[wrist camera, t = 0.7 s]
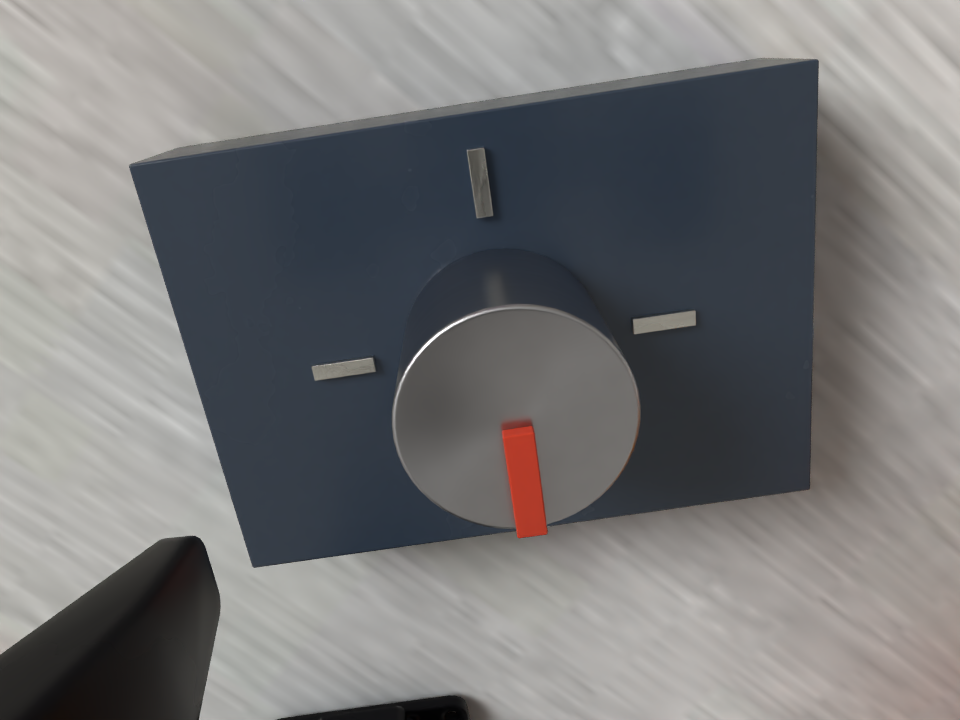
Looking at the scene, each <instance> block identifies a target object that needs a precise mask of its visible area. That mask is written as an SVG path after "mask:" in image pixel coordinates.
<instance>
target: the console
mask: <svg viewBox="0 0 960 720" xmlns="http://www.w3.org/2000/svg"><path fill="white" fill-rule="evenodd" d="M818 69H819V61H818V60H817V59H782V58H759V59H753V60H746V61H740V62H733V63H727V64H720V65H714V66H707V67H700V68H694V69H687V70H681V71H674V72H668V73H661V74H655V75H648V76H642V77H635V78H629V79H622V80H616V81H609V82H603V83H596V84H590V85H583V86H577V87H570V88H564V89H557V90H551V91H544V92H538V93H531V94H525V95H518V96H512V97H505V98H498V99H492V100H485V101H479V102H472V103H466V104H459V105H453V106H446V107H440V108H433V109H427V110H420V111H414V112H407V113H401V114H394V115H388V116H381V117H375V118H368V119H362V120H355V121H349V122H342V123H336V124H329V125H323V126H316V127H310V128H303V129H296V130H290V131H283V132H277V133H270V134H264V135H257V136H251V137H244V138H238V139H231V140H225V141H218V142H212V143H205V144H199V145H192V146H186V147H179V148H176V149H173V150H170V151H167V152H164V153H161V154H159V155H156V156H153V157H150V158H147V159H144V160H141V161H138V162H135V163H133V164H130V165H129V168H130V171H131V174H132V178H133V181H134V184H135V187H136V191H137V194H138V197H139V200H140V204H141V207H142V210H143V213H144V217H145V220H146V223H147V226H148V229H149V233H150V236H151V239H152V242H153V246H154V249H155V252H156V255H157V259H158V262H159V265H160V268H161V272H162V275H163V278H164V281H165V285H166V288H167V291H168V294H169V297H170V301H171V304H172V307H173V310H174V314H175V317H176V320H177V323H178V327H179V330H180V333H181V336H182V340H183V343H184V346H185V349H186V353H187V356H188V359H189V362H190V365H191V369H192V372H193V375H194V378H195V382H196V385H197V388H198V391H199V395H200V398H201V401H202V404H203V408H204V411H205V414H206V417H207V421H208V424H209V427H210V430H211V433H212V437H213V440H214V443H215V446H216V450H217V453H218V456H219V459H220V463H221V466H222V469H223V472H224V476H225V479H226V482H227V485H228V489H229V492H230V495H231V498H232V502H233V505H234V508H235V511H236V514H237V518H238V521H239V524H240V527H241V531H242V534H243V537H244V540H245V544H246V547H247V550H248V553H249V557H250V560H251V563H252V566H253V567H254V568H255V567H262V566H269V565H277V564H284V563H291V562H298V561H305V560H312V559H319V558H326V557H333V556H340V555H348V554H355V553H362V552H369V551H376V550H383V549H390V548H397V547H404V546H412V545H419V544H426V543H433V542H440V541H447V540H454V539H461V538H468V537H476V536H483V535H490V534H497V533H504V532H511V531H516V529H500V528H493V527H486V526H482V525H478V524H474V523H471V522H468V521H466V520H463V519H460V518H458V517H456V516H454V515H452V514H450V513H448V512H446V511H445V510H443V509H442V508H440V507H439V506H437V505H436V504H435V503H433V502H432V501H431V500H430V499H429V498H427V497H426V496H425V495H424V494H423V493H422V492H421V491H420V490H419V489H418V487H417V486H416V485H415V484H414V483H413V481H412V480H411V479H410V477H409V476H408V474H407V472H406V471H405V469H404V468H403V466H402V463H401V461H400V459H399V457H398V454H397V451H396V447H395V444H394V440H393V433H392V426H391V425H392V406H393V400H394V393H395V388H396V382H397V376H398V370H399V364H400V358H401V352H402V346H403V341H404V335H405V329H406V323H407V320H408V317H409V314H410V311H411V309H412V307H413V304H414V302H415V300H416V299H417V297H418V296H419V294H420V292H421V291H422V289H423V288H424V287H425V286H426V285H427V284H428V282H429V281H430V280H431V279H432V278H433V277H434V276H435V275H437V274H438V273H439V272H440V271H441V270H443V269H444V268H446V267H447V266H449V265H450V264H451V263H453V262H455V261H457V260H459V259H461V258H463V257H466V256H469V255H471V254H474V253H478V252H482V251H487V250H494V249H517V250H523V251H529V252H533V253H536V254H539V255H542V256H544V257H547V258H549V259H551V260H553V261H555V262H557V263H558V264H560V265H561V266H563V267H564V268H566V269H567V270H568V271H569V272H570V273H572V274H573V275H574V276H575V277H576V278H577V279H578V280H579V281H580V283H581V284H582V285H583V286H584V287H585V289H586V290H587V292H588V293H589V295H590V296H591V298H592V300H593V302H594V303H595V305H596V307H597V309H598V311H599V312H600V314H601V316H602V318H603V319H604V321H605V323H606V325H607V326H608V328H609V330H610V332H611V334H612V335H613V337H614V339H615V341H616V342H617V344H618V346H619V348H620V349H621V351H622V353H623V355H624V356H625V358H626V360H627V362H628V364H629V366H630V368H631V370H632V372H633V374H634V377H635V380H636V384H637V387H638V390H639V397H640V404H641V420H640V427H639V434H638V437H637V441H636V444H635V447H634V450H633V452H632V454H631V457H630V459H629V461H628V463H627V465H626V466H625V468H624V470H623V471H622V473H621V475H620V476H619V477H618V478H617V480H616V481H615V482H614V483H613V485H612V486H611V487H610V488H609V489H608V490H607V491H606V492H605V493H604V494H603V495H602V496H601V497H600V498H598V499H597V500H596V501H594V502H593V503H592V504H590V505H589V506H588V507H586V508H584V509H582V510H581V511H579V512H577V513H576V514H574V515H571V516H569V517H567V518H565V519H562V520H560V521H557V522H554V523H550V524H547V526H554V525H561V524H568V523H575V522H582V521H589V520H596V519H603V518H611V517H618V516H625V515H632V514H639V513H646V512H653V511H660V510H667V509H674V508H682V507H689V506H696V505H703V504H710V503H717V502H724V501H731V500H738V499H746V498H753V497H760V496H767V495H774V494H781V493H788V492H795V491H802V490H809V489H810V458H811V410H812V361H813V312H814V264H815V215H816V166H817V118H818Z"/></svg>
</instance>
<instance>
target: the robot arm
mask: <svg viewBox="0 0 960 720" xmlns="http://www.w3.org/2000/svg"><path fill="white" fill-rule="evenodd" d="M219 616H220V594H219V590H218V587H217V584H216V580H215V577H214V574H213V571H212V567H211V564H210V561H209V557H208V554H207V551H206V548H205V545H204V543H203V542H202V540H201V539H200V538H198V537H196V536H185V537H174V538H165V539H162V540H159V541H158V542H156V543H155V544H154V545H152V546H151V547H149V548H148V549H147V550H145V551H144V552H142V553H141V554H140V555H138V556H137V557H135V558H134V559H133V560H131V561H130V562H129V563H127V564H126V565H124V566H123V567H122V568H120V569H119V570H117V571H116V572H115V573H113V574H112V575H110V576H109V577H108V578H106V579H105V580H104V581H102V582H101V583H99V584H98V585H97V586H95V587H94V588H92V589H91V590H90V591H88V592H87V593H85V594H84V595H83V596H81V597H80V598H78V599H77V600H76V601H74V602H73V603H72V604H70V605H69V606H67V607H66V608H65V609H63V610H62V611H60V612H59V613H58V614H56V615H55V616H53V617H52V618H51V619H49V620H48V621H47V622H45V623H44V624H42V625H41V626H40V627H38V628H37V629H35V630H34V631H33V632H31V633H30V634H28V635H27V636H26V637H24V638H23V639H21V640H20V641H19V642H17V643H16V644H15V645H13V646H12V647H10V648H9V649H8V650H6V651H5V652H3V653H2V654H1V655H0V720H199V715H200V710H201V705H202V700H203V695H204V691H205V686H206V681H207V676H208V671H209V666H210V661H211V656H212V651H213V646H214V641H215V636H216V631H217V626H218V621H219ZM449 711H455V713H448V712H449ZM277 720H470V717H469V712H468V707H467V704H466V702H465V700H463V699H462V698H461V697H458V696H442V697H435V698H428V699H420V700H413V701H406V702H398V703H391V704H383V705H376V706H369V707H361V708H354V709H347V710H339V711H332V712H325V713H317V714H310V715H303V716H295V717H288V718H281V719H277Z"/></svg>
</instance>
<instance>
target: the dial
mask: <svg viewBox="0 0 960 720" xmlns="http://www.w3.org/2000/svg"><path fill="white" fill-rule="evenodd" d="M640 420H641V404H640V397H639V390H638V387H637V384H636V380H635V377H634V374H633V372H632V370H631V368H630V366H629V364H628V362H627V360H626V358H625V356H624V355H623V353H622V351H621V349H620V348H619V346H618V344H617V342H616V341H615V339H614V337H613V335H612V334H611V332H610V330H609V328H608V326H607V325H606V323H605V321H604V319H603V318H602V316H601V314H600V312H599V311H598V309H597V307H596V305H595V303H594V302H593V300H592V298H591V296H590V295H589V293H588V292H587V290H586V289H585V287H584V286H583V285H582V284H581V283H580V281H579V280H578V279H577V278H576V277H575V276H574V275H573V274H572V273H570V272H569V271H568V270H567V269H566V268H564V267H563V266H561V265H560V264H558V263H557V262H555V261H553V260H551V259H549V258H547V257H544V256H542V255H539V254H536V253H533V252H529V251H523V250H517V249H494V250H487V251H482V252H478V253H474V254H471V255H469V256H466V257H463V258H461V259H459V260H457V261H455V262H453V263H451V264H450V265H449V266H447V267H446V268H444V269H443V270H441V271H440V272H439V273H438V274H437V275H435V276H434V277H433V278H432V279H431V280H430V281H429V282H428V284H427V285H426V286H425V287H424V288H423V289H422V291H421V292H420V294H419V296H418V297H417V299H416V300H415V302H414V304H413V307H412V309H411V311H410V314H409V317H408V320H407V323H406V329H405V335H404V341H403V346H402V352H401V358H400V364H399V370H398V376H397V382H396V388H395V393H394V400H393V406H392V425H391V426H392V433H393V440H394V444H395V447H396V451H397V454H398V457H399V459H400V461H401V463H402V466H403V468H404V469H405V471H406V472H407V474H408V476H409V477H410V479H411V480H412V481H413V483H414V484H415V485H416V486H417V487H418V489H419V490H420V491H421V492H422V493H423V494H424V495H425V496H426V497H427V498H429V499H430V500H431V501H432V502H433V503H435V504H436V505H437V506H439V507H440V508H442V509H443V510H445V511H446V512H448V513H450V514H452V515H454V516H456V517H458V518H460V519H463V520H466V521H468V522H471V523H474V524H478V525H482V526H486V527H493V528H500V529H516V531H517V537H518V538H525V537H532V536H539V535H546V534H547V533H548V530H547V524H550V523H554V522H557V521H560V520H562V519H565V518H567V517H569V516H571V515H574V514H576V513H577V512H579V511H581V510H582V509H584V508H586V507H588V506H589V505H590V504H592V503H593V502H594V501H596V500H597V499H598V498H600V497H601V496H602V495H603V494H604V493H605V492H606V491H607V490H608V489H609V488H610V487H611V486H612V485H613V483H614V482H615V481H616V480H617V478H618V477H619V476H620V475H621V473H622V471H623V470H624V468H625V466H626V465H627V463H628V461H629V459H630V457H631V454H632V452H633V450H634V447H635V444H636V441H637V437H638V434H639V427H640Z"/></svg>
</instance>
